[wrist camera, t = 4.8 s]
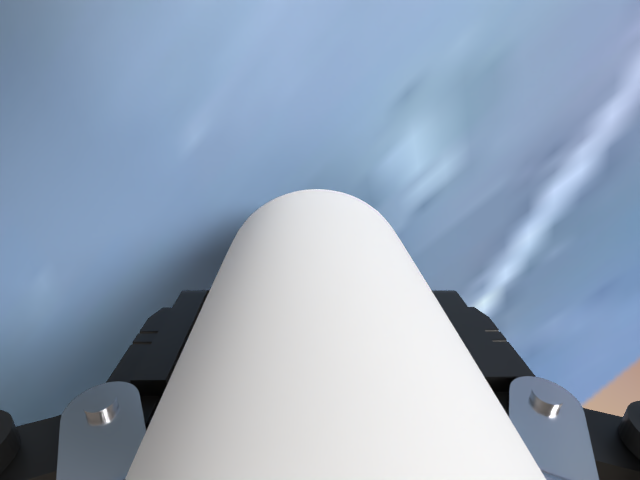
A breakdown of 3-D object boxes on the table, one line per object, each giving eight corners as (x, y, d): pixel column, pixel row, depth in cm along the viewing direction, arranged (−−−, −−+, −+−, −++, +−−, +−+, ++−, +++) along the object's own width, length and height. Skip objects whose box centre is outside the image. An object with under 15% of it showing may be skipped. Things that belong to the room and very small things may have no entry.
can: (403, 327, 15) (672, 983, 4) (248, 347, 15) (103, 1041, 4) (397, 172, 13) (1051, 805, 2) (210, 198, 13) (-408, 962, 2)
